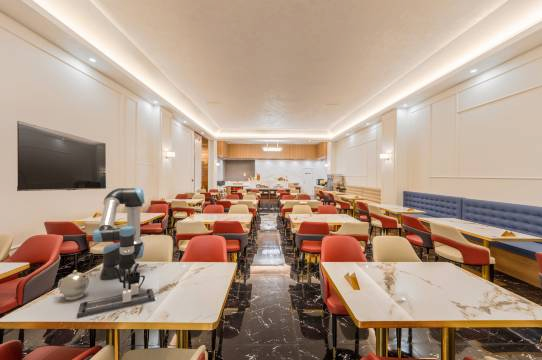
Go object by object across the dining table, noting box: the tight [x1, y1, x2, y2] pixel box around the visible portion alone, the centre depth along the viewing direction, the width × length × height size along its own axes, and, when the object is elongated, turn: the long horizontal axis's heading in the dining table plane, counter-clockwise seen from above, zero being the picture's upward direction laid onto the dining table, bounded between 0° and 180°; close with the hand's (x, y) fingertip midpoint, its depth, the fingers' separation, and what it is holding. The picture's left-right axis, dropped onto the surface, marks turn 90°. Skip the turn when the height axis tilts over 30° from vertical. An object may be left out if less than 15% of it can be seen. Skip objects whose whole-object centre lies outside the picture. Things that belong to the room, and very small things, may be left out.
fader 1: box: [122, 289, 131, 303], centre depth 140 cm, size 4×4×5 cm
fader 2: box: [131, 283, 140, 295], centre depth 149 cm, size 4×4×5 cm
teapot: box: [57, 269, 90, 301], centre depth 150 cm, size 18×14×16 cm
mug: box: [126, 271, 146, 290], centre depth 161 cm, size 8×12×10 cm
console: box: [76, 288, 156, 319], centre depth 142 cm, size 14×36×3 cm, turn 121°
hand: (126, 293), depth 147 cm, fingers closed
